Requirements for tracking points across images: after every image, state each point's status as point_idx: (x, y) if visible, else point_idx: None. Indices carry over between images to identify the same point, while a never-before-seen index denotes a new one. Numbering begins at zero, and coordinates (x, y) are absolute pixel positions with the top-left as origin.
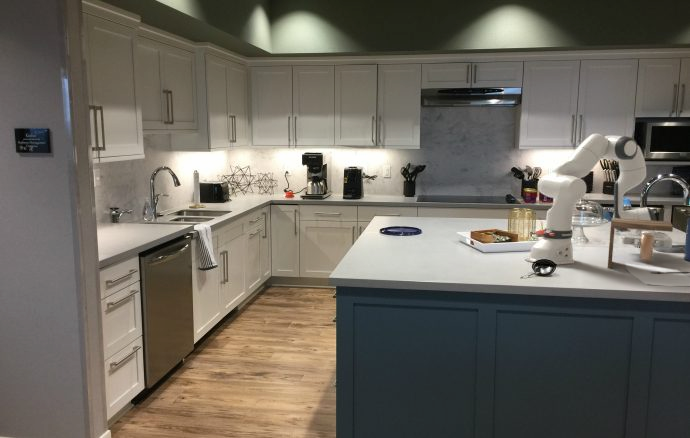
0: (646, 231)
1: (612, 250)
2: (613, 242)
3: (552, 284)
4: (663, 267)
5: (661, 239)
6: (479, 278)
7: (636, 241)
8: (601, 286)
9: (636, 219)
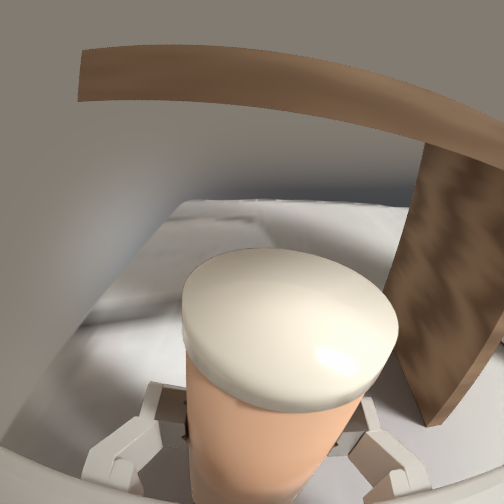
0: (329, 335)
1: (400, 242)
2: (474, 310)
3: (399, 213)
4: (141, 396)
5: (43, 471)
6: None
7: (388, 445)
8: (334, 209)
9: (438, 94)
